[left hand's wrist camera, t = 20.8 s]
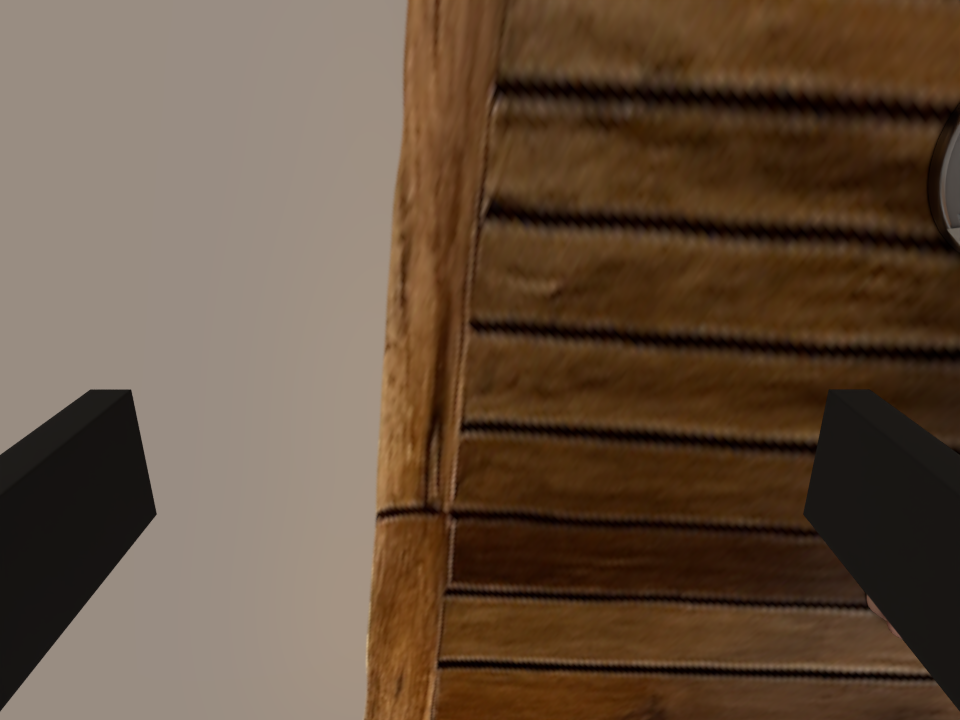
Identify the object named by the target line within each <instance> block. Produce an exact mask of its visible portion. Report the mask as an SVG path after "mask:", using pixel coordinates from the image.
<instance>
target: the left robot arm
mask: <svg viewBox="0 0 960 720" xmlns="http://www.w3.org/2000/svg"><path fill="white" fill-rule="evenodd" d="M928 194H929V203H930V208H931V212H932V215H933V218H934V221H935V223H936V225H937V228H938V229H939V231H940V233H941V234H942V236H943V237H944V238H945V240H946V241H947V242H948V243H949V244H950V245H951V246H952V247H953V248H954V249H955V250H956V251H958V252H959V253H960V104H959V105H958V106H957V108H956V109H955V111H954V112H953V113H952V115H951V116H950V118H949V120H948V122H947V123H946V125H945V127H944V129H943V131H942V133H941V135H940V137H939V139H938V142H937V144H936V147H935V150H934V153H933V157H932V160H931V165H930V170H929V180H928ZM156 514H157V513H156V509H155V504H154V499H153V494H152V489H151V484H150V479H149V474H148V469H147V465H146V460H145V455H144V450H143V445H142V440H141V435H140V430H139V426H138V421H137V416H136V411H135V406H134V401H133V396H132V392H131V390H89V391H88V392H86V393H85V394H84V395H82V396H81V397H80V398H78V399H77V400H75V401H74V402H73V403H71V404H70V405H69V406H67V407H66V408H64V409H63V410H62V411H60V412H59V413H57V414H56V415H55V416H53V417H52V418H51V419H49V420H48V421H47V422H45V423H44V424H42V425H41V426H40V427H38V428H37V429H35V430H34V431H33V432H31V433H30V434H29V435H27V436H26V437H24V438H23V439H22V440H20V441H19V442H17V443H16V444H15V445H13V446H12V447H11V448H9V449H8V450H6V451H5V452H4V453H2V454H1V455H0V711H1V710H2V708H3V707H4V706H5V705H6V703H7V702H8V701H9V700H10V698H11V697H12V696H13V695H14V693H15V692H16V691H17V690H18V688H19V687H20V686H21V685H22V683H23V682H24V681H25V680H26V678H27V677H28V676H29V674H30V673H31V672H32V671H33V669H34V668H35V667H36V666H37V664H38V663H39V662H40V661H41V659H42V658H43V657H44V656H45V654H46V653H47V652H48V651H49V649H50V648H51V647H52V646H53V644H54V643H55V642H56V640H57V639H58V638H59V637H60V635H61V634H62V633H63V632H64V630H65V629H66V628H67V627H68V625H69V624H70V623H71V622H72V620H73V619H74V618H75V617H76V615H77V614H78V613H79V612H80V610H81V609H82V608H83V606H84V605H85V604H86V603H87V601H88V600H89V599H90V598H91V596H92V595H93V594H94V593H95V591H96V590H97V589H98V588H99V586H100V585H101V584H102V583H103V581H104V580H105V579H106V578H107V576H108V575H109V574H110V572H111V571H112V570H113V569H114V567H115V566H116V565H117V564H118V562H119V561H120V560H121V559H122V557H123V556H124V555H125V554H126V552H127V551H128V550H129V549H130V547H131V546H132V545H133V544H134V542H135V541H136V540H137V538H138V537H139V536H140V535H141V533H142V532H143V531H144V530H145V528H146V527H147V526H148V525H149V523H150V522H151V521H152V520H153V518H154V517H155V516H156ZM803 515H804V516H805V517H806V518H807V520H808V521H809V522H810V523H811V525H812V526H813V527H814V528H815V530H816V531H817V532H818V533H819V535H820V536H821V537H822V538H823V540H824V541H825V542H826V544H827V545H828V546H829V547H830V549H831V550H832V551H833V552H834V554H835V555H836V556H837V557H838V559H839V560H840V561H841V562H842V564H843V565H844V566H845V567H846V569H847V570H848V571H849V572H850V574H851V575H852V576H853V578H854V579H855V580H856V581H857V583H858V584H859V585H860V586H861V588H862V589H863V590H864V591H865V593H866V594H867V595H868V596H869V598H870V599H871V600H872V601H873V603H874V604H875V605H876V606H877V608H878V609H879V610H880V612H881V613H882V614H883V615H884V617H885V618H886V619H887V620H888V622H889V623H890V624H891V625H892V627H893V628H894V629H895V630H896V632H897V633H898V634H899V635H900V637H901V638H902V639H903V640H904V642H905V643H906V644H907V646H908V647H909V648H910V649H911V651H912V652H913V653H914V654H915V656H916V657H917V658H918V659H919V661H920V662H921V663H922V664H923V666H924V667H925V668H926V669H927V671H928V672H929V673H930V674H931V676H932V677H933V678H934V680H935V681H936V682H937V683H938V685H939V686H940V687H941V688H942V690H943V691H944V692H945V693H946V695H947V696H948V697H949V698H950V700H951V701H952V702H953V703H954V705H955V706H956V707H957V708H958V710H959V711H960V455H959V454H958V453H956V452H955V451H954V450H952V449H951V448H949V447H948V446H947V445H945V444H944V443H943V442H941V441H940V440H938V439H937V438H936V437H934V436H933V435H931V434H930V433H929V432H927V431H926V430H925V429H923V428H922V427H920V426H919V425H918V424H916V423H915V422H914V421H912V420H911V419H909V418H908V417H907V416H905V415H904V414H903V413H901V412H900V411H898V410H897V409H896V408H894V407H893V406H891V405H890V404H889V403H887V402H886V401H885V400H883V399H882V398H880V397H879V396H878V395H876V394H875V393H874V392H872V391H871V390H829V391H828V396H827V401H826V406H825V411H824V416H823V421H822V426H821V430H820V435H819V440H818V445H817V450H816V455H815V460H814V465H813V469H812V474H811V479H810V484H809V489H808V494H807V499H806V504H805V509H804V513H803Z"/></svg>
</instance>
